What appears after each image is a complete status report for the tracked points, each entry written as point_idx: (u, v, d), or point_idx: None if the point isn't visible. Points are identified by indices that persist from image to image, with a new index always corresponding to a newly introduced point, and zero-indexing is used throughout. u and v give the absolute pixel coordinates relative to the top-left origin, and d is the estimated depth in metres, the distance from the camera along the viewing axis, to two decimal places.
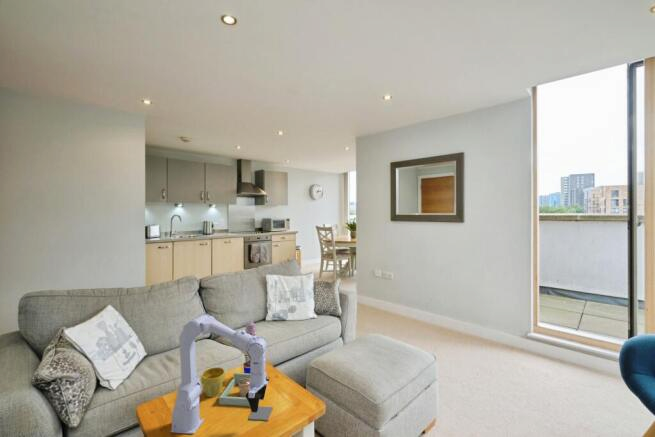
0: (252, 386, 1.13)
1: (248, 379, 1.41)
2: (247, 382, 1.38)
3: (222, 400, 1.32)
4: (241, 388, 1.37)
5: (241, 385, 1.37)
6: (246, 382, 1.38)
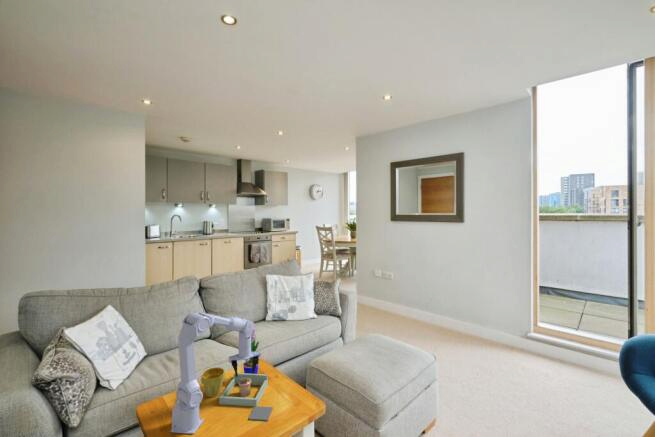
0: (238, 355, 1.39)
1: (248, 379, 1.41)
2: (247, 382, 1.38)
3: (222, 400, 1.32)
4: (241, 388, 1.37)
5: (241, 385, 1.37)
6: (246, 382, 1.38)
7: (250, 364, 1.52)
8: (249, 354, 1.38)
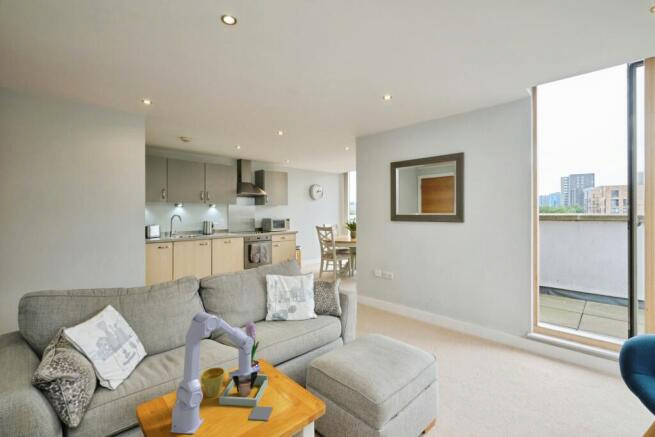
0: (238, 371, 1.39)
1: (248, 379, 1.41)
2: (247, 382, 1.38)
3: (222, 400, 1.32)
4: (241, 388, 1.37)
5: (241, 385, 1.37)
6: (246, 382, 1.38)
7: None
8: (249, 370, 1.38)
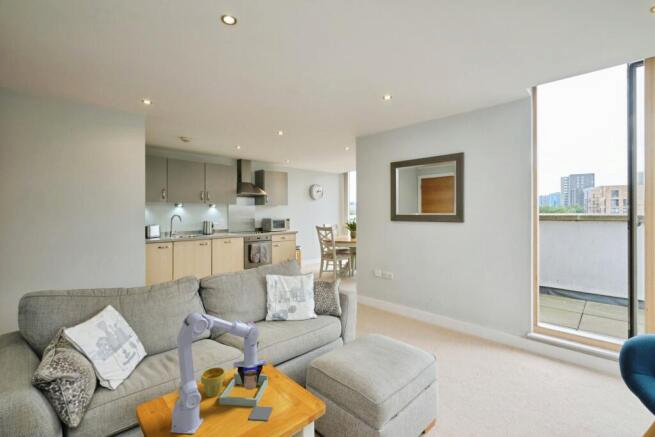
0: (244, 361, 1.35)
1: (254, 372, 1.36)
2: (252, 375, 1.33)
3: (222, 400, 1.32)
4: (246, 380, 1.32)
5: (245, 377, 1.32)
6: (250, 375, 1.33)
7: None
8: (254, 362, 1.32)
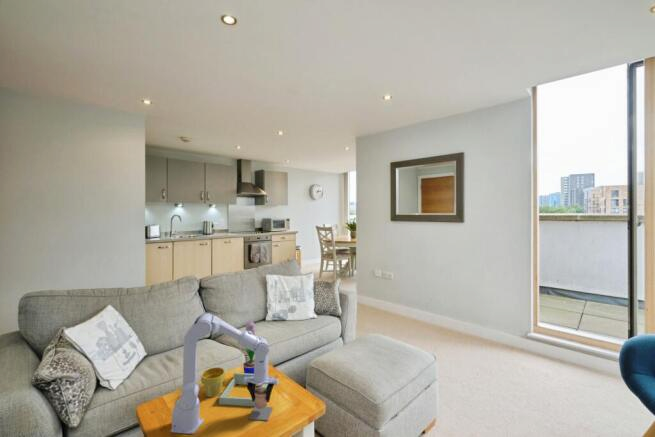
0: None
1: None
2: (262, 393, 1.24)
3: (222, 400, 1.32)
4: (256, 398, 1.24)
5: (255, 394, 1.24)
6: (261, 393, 1.24)
7: (250, 364, 1.52)
8: (263, 380, 1.23)
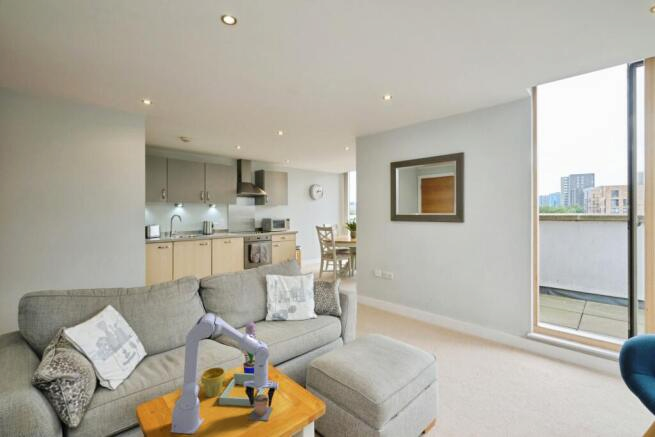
0: None
1: (265, 396, 1.27)
2: (262, 400, 1.24)
3: (222, 400, 1.32)
4: (255, 405, 1.24)
5: (255, 401, 1.24)
6: (260, 400, 1.24)
7: (250, 364, 1.52)
8: (263, 384, 1.23)
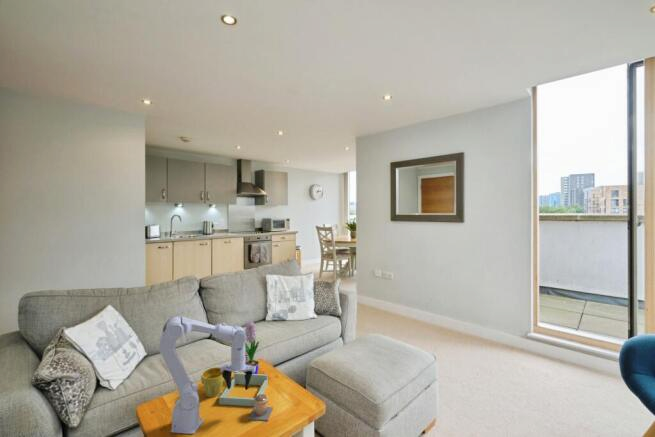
0: None
1: (265, 397, 1.26)
2: (262, 400, 1.24)
3: (222, 400, 1.32)
4: (255, 405, 1.24)
5: (255, 401, 1.24)
6: (260, 400, 1.24)
7: (250, 364, 1.52)
8: (240, 367, 1.24)
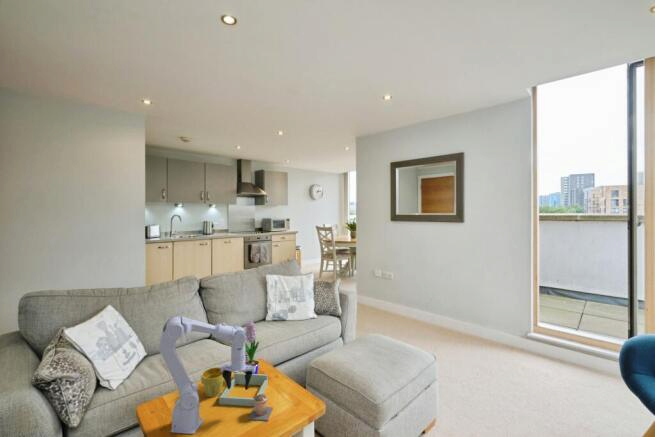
0: None
1: (265, 396, 1.27)
2: (261, 400, 1.24)
3: (222, 400, 1.32)
4: (255, 405, 1.24)
5: (254, 401, 1.24)
6: (260, 400, 1.24)
7: (250, 364, 1.52)
8: (240, 367, 1.24)
